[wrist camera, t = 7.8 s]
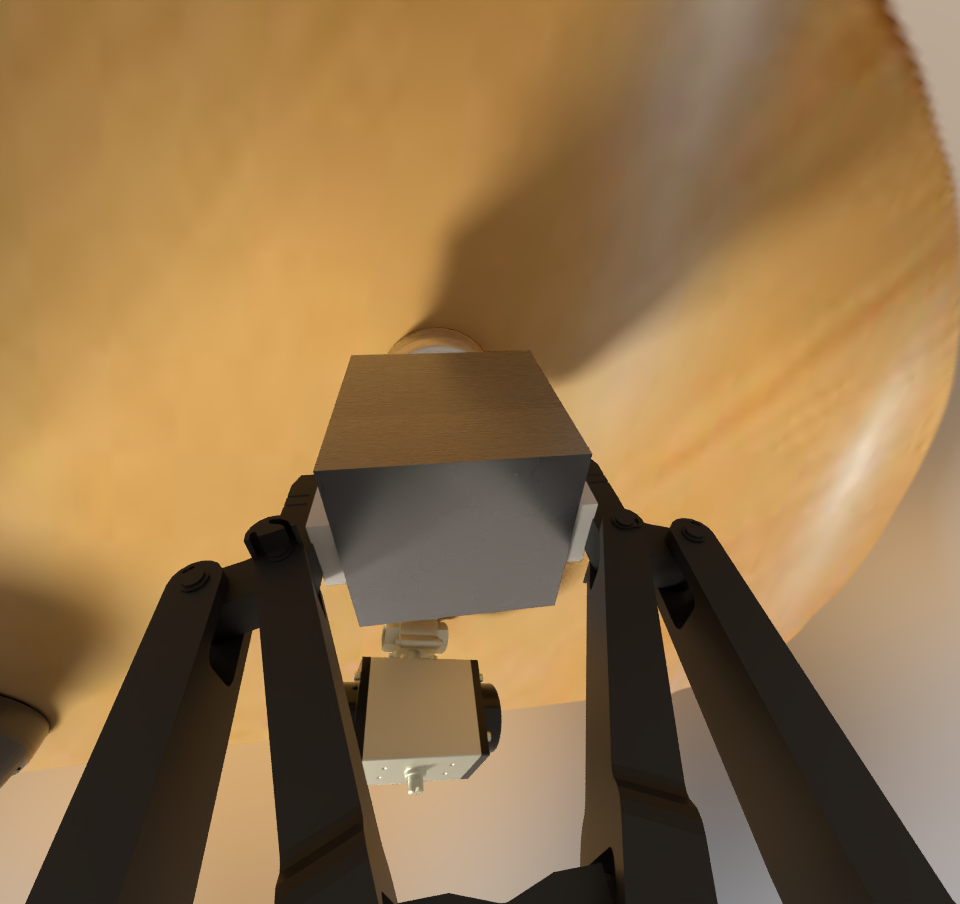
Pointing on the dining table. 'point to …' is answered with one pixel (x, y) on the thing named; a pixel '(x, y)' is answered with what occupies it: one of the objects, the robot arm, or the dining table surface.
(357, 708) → the pneumatic valve
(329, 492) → the gray cube
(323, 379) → the dining table surface
